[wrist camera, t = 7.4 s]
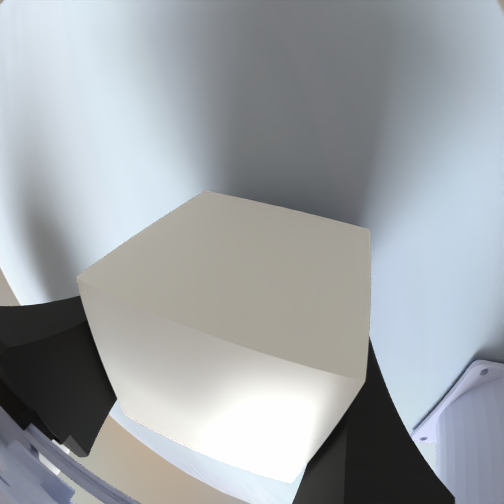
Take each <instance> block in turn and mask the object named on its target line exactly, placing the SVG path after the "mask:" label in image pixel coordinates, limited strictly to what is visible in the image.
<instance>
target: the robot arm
mask: <svg viewBox="0 0 504 504" xmlns="http://www.w3.org/2000/svg"><path fill="white" fill-rule="evenodd" d="M116 400H117V397H116V394H115V392H114V390H113V387H112V385H111V383H110V380H109V378H108V375H107V373H106V370H105V368H104V365H103V363H102V360H101V357H100V355H99V352H98V349H97V347H96V344H95V341H94V338H93V335H92V332H91V329H90V326H89V323H88V320H87V317H86V313H85V310H84V307H83V303H82V300H81V296H77V297H73V298H69V299H65V300H59V301H54V302H48V303H43V304H35V305H25V306H0V504H76V503H75V502H73V501H72V500H71V498H72V496H73V495H74V494H75V490H74V489H73V488H72V487H70V486H69V485H68V484H67V483H66V482H64V481H63V480H62V479H61V478H59V477H58V476H57V475H56V474H55V473H53V472H52V471H51V470H50V469H49V468H47V467H46V466H45V465H44V464H43V463H42V462H41V461H40V460H39V452H40V453H41V454H42V455H43V456H44V457H45V458H46V459H47V460H48V461H50V462H51V463H52V464H53V465H54V466H55V467H57V468H58V469H59V470H60V471H61V472H63V473H64V474H65V475H66V476H68V477H69V478H70V479H71V480H73V481H74V482H75V483H77V484H78V485H79V486H81V487H82V488H83V489H85V490H86V491H87V492H89V493H91V494H92V495H93V496H95V497H96V498H97V499H99V500H100V501H102V502H103V503H105V504H141V503H139V502H138V501H136V500H134V499H133V498H131V497H129V496H127V495H126V494H124V493H122V492H121V491H119V490H117V489H116V488H114V487H113V486H111V485H110V484H108V483H106V482H105V481H103V480H102V479H100V478H99V477H98V476H96V475H95V474H93V473H92V472H90V471H89V470H87V469H86V468H85V467H83V466H82V465H81V464H79V463H78V462H77V461H75V460H74V459H73V458H72V457H70V456H69V455H68V454H66V453H65V452H64V451H63V450H62V449H60V448H59V447H58V446H57V445H56V444H54V443H53V442H52V440H53V439H54V440H55V441H56V442H57V443H58V444H60V445H62V444H63V445H64V446H65V447H67V448H68V449H69V450H70V451H72V452H73V453H74V454H76V455H77V456H78V457H86V456H88V455H89V453H90V450H91V448H92V446H93V443H94V441H95V438H96V437H97V435H98V433H99V430H100V428H101V427H102V425H103V423H104V421H105V419H106V417H107V415H108V414H109V412H110V410H111V408H112V407H113V405H114V403H115V402H116ZM414 441H418V442H427V443H436V468H435V473H434V471H433V470H432V469H431V467H430V466H429V465H428V463H427V462H426V460H425V459H424V457H423V456H422V454H421V453H420V451H419V450H418V448H417V446H416V445H415V443H414ZM38 451H39V452H38ZM292 504H504V364H502V363H496V362H491V361H486V360H476V361H474V362H473V363H472V364H471V365H470V366H469V367H468V369H467V370H466V371H465V373H464V374H463V375H462V376H461V378H460V379H459V380H458V382H457V383H456V384H455V385H454V387H453V388H452V389H451V390H450V392H449V393H448V394H447V395H446V396H445V397H444V399H443V400H442V401H441V402H440V403H439V404H438V406H437V407H436V408H435V409H434V410H433V411H432V412H431V413H430V414H429V416H428V417H427V418H426V419H425V420H424V421H423V422H422V423H421V424H420V425H419V426H418V427H417V428H416V429H415V430H414V431H413V432H412V433H411V437H410V435H409V433H408V431H407V430H406V428H405V426H404V424H403V422H402V420H401V418H400V416H399V414H398V412H397V410H396V408H395V406H394V403H393V401H392V399H391V397H390V394H389V392H388V389H387V387H386V384H385V382H384V379H383V376H382V374H381V371H380V368H379V365H378V362H377V359H376V356H375V353H374V350H373V347H372V343H371V340H370V336H369V345H368V358H367V369H366V379H365V383H364V384H363V386H362V387H361V389H360V391H359V392H358V394H357V395H356V397H355V398H354V400H353V401H352V403H351V404H350V406H349V407H348V409H347V410H346V412H345V413H344V415H343V416H342V418H341V419H340V421H339V422H338V423H337V425H336V426H335V428H334V429H333V430H332V432H331V433H330V435H329V436H328V437H327V439H326V440H325V441H324V443H323V444H322V445H321V447H320V448H319V449H318V450H317V452H316V453H315V454H314V456H313V457H312V458H311V459H310V461H309V462H308V463H307V466H306V469H305V472H304V475H303V478H302V480H301V483H300V486H299V488H298V491H297V493H296V496H295V498H294V501H293V503H292Z"/></svg>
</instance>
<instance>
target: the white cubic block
mask: <svg viewBox="0 0 504 504" xmlns="http://www.w3.org/2000/svg"><path fill="white" fill-rule="evenodd" d="M76 281H77V285H78V289H79V293H80V296H81V300H82V303H83V307H84V310H85V313H86V317H87V320H88V323H89V326H90V329H91V332H92V335H93V338H94V341H95V344H96V347H97V349H98V352H99V355H100V357H101V360H102V363H103V365H104V368H105V370H106V373H107V375H108V378H109V380H110V383H111V385H112V387H113V390H114V392H115V394H116V397H117V399H118V401H119V403H120V405H121V408H122V410H123V412H124V414H125V416H127V417H129V418H131V419H132V420H134V421H136V422H138V423H139V424H141V425H143V426H145V427H147V428H149V429H151V430H153V431H155V432H156V433H158V434H160V435H162V436H164V437H166V438H169V439H171V440H173V441H175V442H177V443H179V444H181V445H183V446H186V447H188V448H190V449H192V450H195V451H197V452H199V453H202V454H204V455H207V456H209V457H212V458H214V459H217V460H219V461H222V462H224V463H227V464H230V465H233V466H235V467H238V468H241V469H244V470H247V471H250V472H253V473H256V474H259V475H263V476H266V477H269V478H273V479H276V480H280V481H284V482H287V483H291V482H292V481H293V480H294V479H295V477H296V476H297V475H298V474H299V473H300V472H301V470H302V469H303V468H304V467H305V466H306V464H307V463H308V462H309V461H310V459H311V458H312V457H313V456H314V454H315V453H316V452H317V450H318V449H319V448H320V447H321V445H322V444H323V443H324V441H325V440H326V439H327V437H328V436H329V435H330V433H331V432H332V430H333V429H334V428H335V426H336V425H337V423H338V422H339V421H340V419H341V418H342V416H343V415H344V413H345V412H346V410H347V409H348V407H349V406H350V404H351V403H352V401H353V400H354V398H355V397H356V395H357V394H358V392H359V391H360V389H361V387H362V386H363V384H364V383H365V379H366V369H367V358H368V345H369V329H370V307H371V233H370V229H367V228H363V227H360V226H356V225H352V224H348V223H344V222H341V221H337V220H333V219H329V218H325V217H321V216H317V215H313V214H309V213H305V212H301V211H297V210H292V209H288V208H284V207H280V206H275V205H271V204H266V203H262V202H258V201H253V200H248V199H244V198H239V197H235V196H230V195H225V194H220V193H215V192H210V191H204V192H202V193H201V194H199V195H197V196H196V197H194V198H192V199H191V200H189V201H187V202H186V203H184V204H183V205H181V206H179V207H178V208H176V209H175V210H173V211H171V212H170V213H168V214H167V215H165V216H164V217H162V218H161V219H159V220H157V221H156V222H154V223H153V224H151V225H150V226H148V227H147V228H145V229H144V230H142V231H141V232H139V233H138V234H136V235H135V236H133V237H132V238H130V239H129V240H127V241H126V242H124V243H123V244H122V245H120V246H119V247H117V248H116V249H114V250H113V251H111V252H110V253H109V254H107V255H106V256H104V257H103V258H102V259H100V260H99V261H97V262H96V263H95V264H93V265H92V266H90V267H89V268H88V269H86V270H85V271H84V272H82V273H81V274H80V275H78V276H77V277H76Z"/></svg>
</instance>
